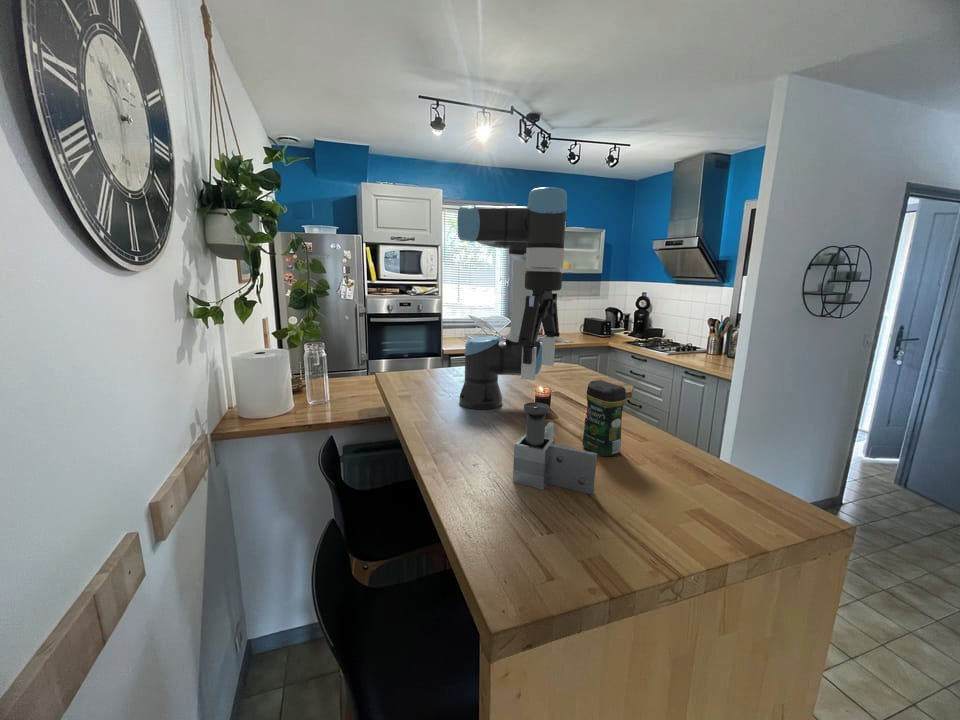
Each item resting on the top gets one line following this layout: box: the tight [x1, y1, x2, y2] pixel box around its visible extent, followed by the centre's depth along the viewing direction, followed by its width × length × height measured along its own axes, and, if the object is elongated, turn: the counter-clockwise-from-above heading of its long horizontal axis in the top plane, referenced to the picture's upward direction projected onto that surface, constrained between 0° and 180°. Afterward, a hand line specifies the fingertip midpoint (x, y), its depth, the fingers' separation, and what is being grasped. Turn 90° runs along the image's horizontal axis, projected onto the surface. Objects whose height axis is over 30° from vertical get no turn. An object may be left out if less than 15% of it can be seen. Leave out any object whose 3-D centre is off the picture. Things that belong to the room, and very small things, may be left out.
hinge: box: [512, 421, 598, 496], centre depth 95 cm, size 17×17×9 cm
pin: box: [523, 401, 551, 449], centre depth 92 cm, size 6×6×17 cm
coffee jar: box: [581, 379, 627, 457], centre depth 108 cm, size 10×8×19 cm
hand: (538, 371), depth 89 cm, fingers open, 13 cm apart
